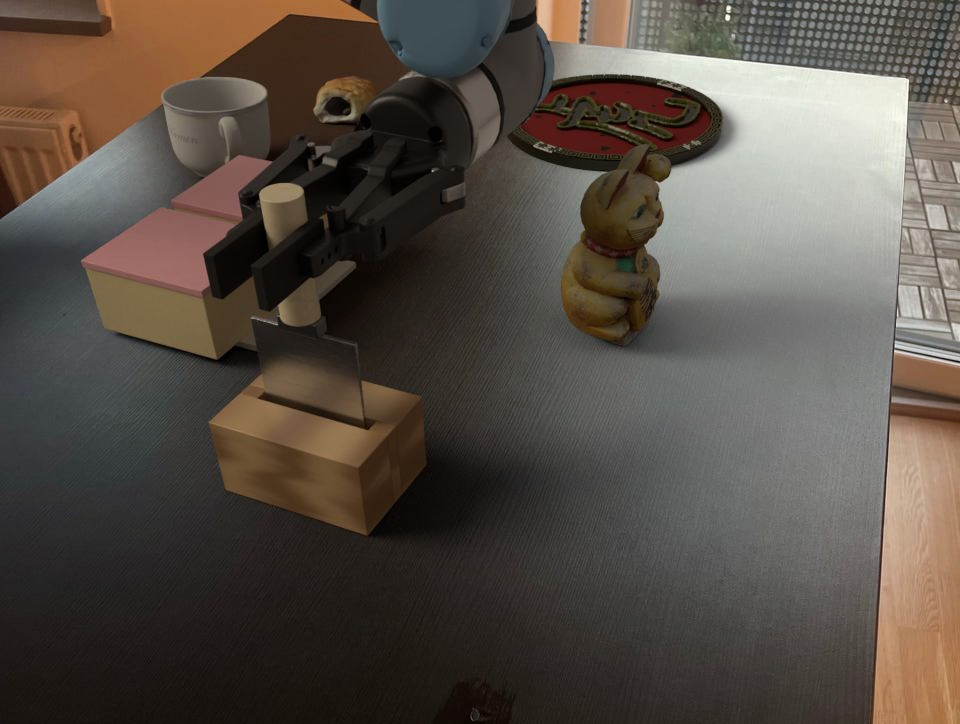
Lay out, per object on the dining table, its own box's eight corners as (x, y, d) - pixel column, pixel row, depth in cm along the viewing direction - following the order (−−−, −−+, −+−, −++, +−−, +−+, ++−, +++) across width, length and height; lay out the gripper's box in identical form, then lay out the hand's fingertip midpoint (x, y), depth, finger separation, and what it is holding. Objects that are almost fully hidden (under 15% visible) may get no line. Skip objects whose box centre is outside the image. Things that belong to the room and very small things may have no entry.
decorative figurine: (631, 364, 85) (650, 183, 74) (539, 343, 88) (544, 164, 77) (667, 308, 91) (690, 132, 80) (580, 290, 94) (590, 116, 82)
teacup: (179, 153, 115) (161, 76, 109) (276, 144, 117) (264, 67, 111) (177, 208, 106) (158, 127, 100) (283, 198, 107) (270, 117, 101)
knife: (261, 426, 73) (212, 189, 61) (281, 407, 75) (237, 171, 62) (358, 456, 71) (328, 214, 58) (377, 435, 72) (351, 195, 60)
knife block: (225, 490, 75) (207, 422, 71) (291, 424, 80) (278, 357, 76) (367, 536, 71) (358, 467, 67) (427, 464, 77) (422, 396, 72)
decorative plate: (682, 176, 106) (466, 136, 114) (681, 187, 107) (466, 147, 115) (750, 92, 121) (555, 62, 129) (748, 102, 122) (555, 72, 130)
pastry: (336, 93, 126) (333, 60, 124) (389, 98, 125) (387, 63, 123) (312, 124, 120) (307, 89, 118) (367, 128, 119) (364, 93, 116)
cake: (87, 330, 90) (62, 255, 85) (236, 221, 104) (222, 151, 99) (238, 372, 85) (221, 296, 80) (373, 252, 99) (366, 180, 94)
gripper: (526, 204, 74) (360, 371, 60) (338, 165, 79) (143, 312, 64) (529, 92, 68) (346, 247, 54) (326, 58, 73) (110, 193, 59)
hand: (237, 282), depth 59 cm, fingers closed on knife, 3 cm apart
